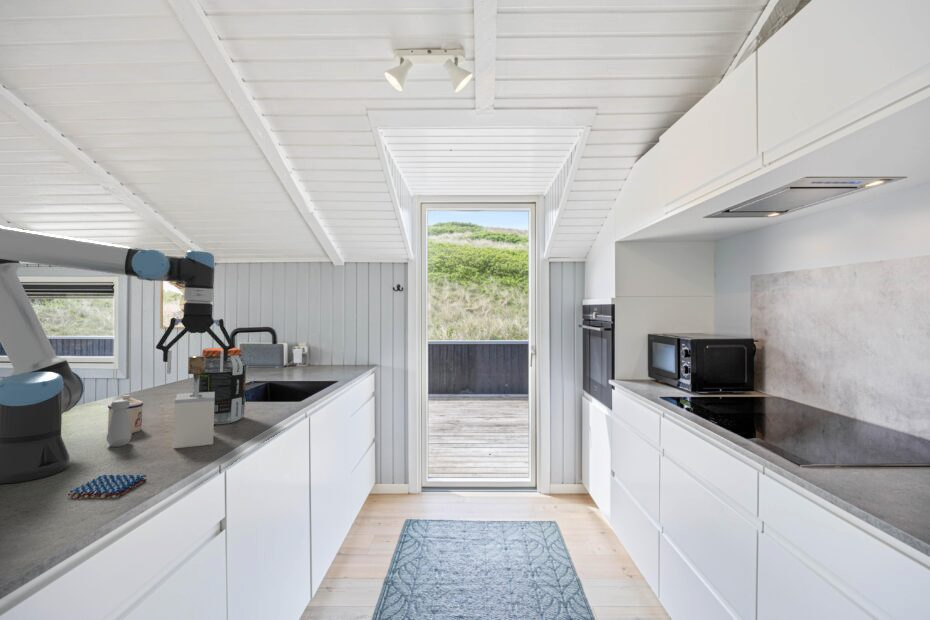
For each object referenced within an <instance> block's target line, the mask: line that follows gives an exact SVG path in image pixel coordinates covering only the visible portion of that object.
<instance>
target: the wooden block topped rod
mask: <svg viewBox="0 0 930 620" xmlns="http://www.w3.org/2000/svg"><path fill="white" fill-rule="evenodd" d="M187 358H188V359H187V360H188V366H187V375H193V376H192V380H193V381H192V393H193V397H197V396H199V375H200V374H203V373H205V356H202V355H190V356H188V357H187Z"/></svg>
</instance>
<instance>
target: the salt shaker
mask: <svg viewBox="0 0 930 620" xmlns="http://www.w3.org/2000/svg"><path fill="white" fill-rule="evenodd" d="M110 403H111V409H113V414H112V418H111V422H110V426H109V430H108V429H107V435H106V442H107V444H108V445H109V447H113V448H114V447H115V448H116V447H117V448H119V447H124V446H127V445H128V444H129V442H130V440H131V439H132V433H131V430H130V424H129V419H128V413H127V408H129V401H128V400H119V399H118V400H113V401H112V402H110ZM126 444H127V445H126Z"/></svg>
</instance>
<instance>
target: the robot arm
mask: <svg viewBox="0 0 930 620" xmlns="http://www.w3.org/2000/svg"><path fill="white" fill-rule="evenodd" d="M21 263H29V264H30V263H31V264H37V265H44V266H53V267H59V268H67V269H74V270H75V269H76V270H84V271H89V272H90V271H92V272H100V273H108V274H115V275H121V276H122V275H123V276H129V277H135V278H137V279H138V280H142V281H143V280H144V281H149V282H152V281H154V282H155V281H156V282H159V281H160V282H174V283H175V282H178V283H184V290H183V291H184V294H183V300H184V301H185V302H184V304H183V316H182V318H176V317H172V318H170V320H169V326H168V327H167V329H166V330H165V332H164V334H162V337H160V339H159V341H158V343H157V344H156V345H155V349H157V350H161V351H162V353H163V355H162V361H163V363H167V364H166V374H167V375H170V374H171V372H172V355H173V353H172V351H173V350H170V349H171V348H172V347H173V346H174V345H175V344H176V343H177V342H178V341H180V340H181V338H183V336H185V334H187V333H190V334H197V333H198V334H205V333H208V335H209V336H210V337H211V338H212V339H213V340H214V341H215V343H216V344H217V345H219V346H220V348H223V350H221V357H220V372H223V361H227V358H228V350H229V349H233V348H235V344H234V343H233V340H232V339H231V336H230V335H229V332H228V331H227V329H226V327H225V323H224V318H219V319H214V318H213V312H214V311H213V309H214V307H213V306H214V305H213V304H212V302H213V301H214V283H215V282H214V281H215V256H214V254H213V253H210V252H208V251H203V250H201V251H200V250H188V251H186V253H185V255H184V256H173V255H172V256H171V255H165V253H163V252H161V251H159V250H156V249H151V248H145V249H144V248H138V247H131V246H127V245H126V246H125V245H124V246H123V245H120V244H112V243H107V242H99V241H93V240H88V239H80V238H74V237H70V236H69V237H68V236H61V235H56V234H51V233H50V234H49V233H42V232H37V231H30V230H26V229H25V230H23V229H19V228H11V227H5V226H2V225H1V224H0V344H1V346H2V348H3V350H4V352H5V354H6V356H7V358H8V360H9V362H10V364H11V366H12V368H13V370H12V372H11V374H10V375H8V376H6V377H3V378H1V379H0V485H1V484H2V485H3V484H12V483H13V484H15V483H21V482H27V481H31V480H32V481H33V480H38V479H42V478H45V477H46V478H47V477H49V476H52V475H55V474H58V473H61V472H63V471H65V470H67V469H68V468H69V467H70V466H71V465H70V463H71V462H70V459H71V458H70V454H69V452H68V450H67V446H66V445H65V442H64V440H63V438H62V425H63V424H62V422H63V419H62V418H63V417H62V415H63V414H65V413H66V412H68V411H70V410H72V409H73V408H74V407H75V406H76V405H77V404H78V403H79V402H80V401H81V399H82V398H83V396H84V394H85V393H84V392H85V383H84V381H83V379H82V377H81V376H80V375H79V374H78V373H76V372H75V371H72V368H71V366H70V364H69V363H68V360H67V359H66V358H63V357H60V356H58V355H57V354H56V352H55V349H54V348H53V346H52V344H51V342H50V339H49V338H48V336H47V334H46V331H45V330H44V328H43V325H42V323H41V321H40V320H39V318H38V314H37V313H36V311H35V309H34V307H33V305H32V302H31V301H30V299H29V296H28V295H27V292H26V290H25V288H24V287H23V284H22V283H21V280H20V278H19V276H18V274H17V271H18V270H19V269H20V267H21ZM179 324H182V327H184V328H183V329H182V330H181V331H180V332H179V333H178V334H177V335H176V336H174V338H173V339H172V340H170V342H169V343H168V344H166V345H164V344H165V343H166V341H167V340H168V338H169V337H170V335H171V333H172V332H173V330H174V328H175V326H179ZM214 324H215V325H216V326H217V327H219V329H220V330H221V333H222V334H223V337H224V338H225V340H226V342H227V344H228V345H226V343H224V342H223V340H222V339H220V337H219V336H218V335H217V334H216V333H215V332H214V331H213V329H212V328H211V327H212V326H213V325H214Z"/></svg>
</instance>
